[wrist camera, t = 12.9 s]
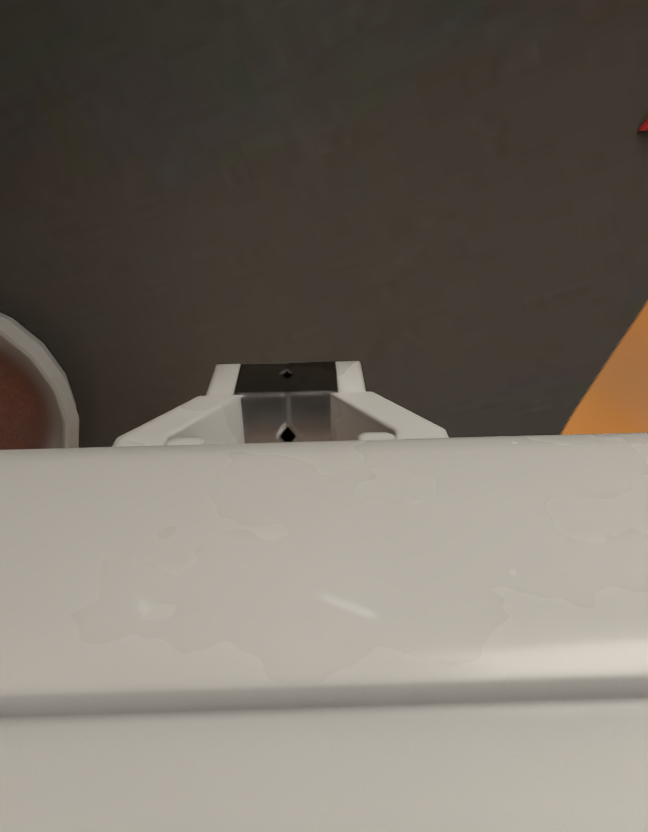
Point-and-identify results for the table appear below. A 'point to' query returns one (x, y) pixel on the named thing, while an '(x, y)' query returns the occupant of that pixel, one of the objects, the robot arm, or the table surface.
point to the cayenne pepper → (644, 126)
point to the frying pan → (33, 394)
